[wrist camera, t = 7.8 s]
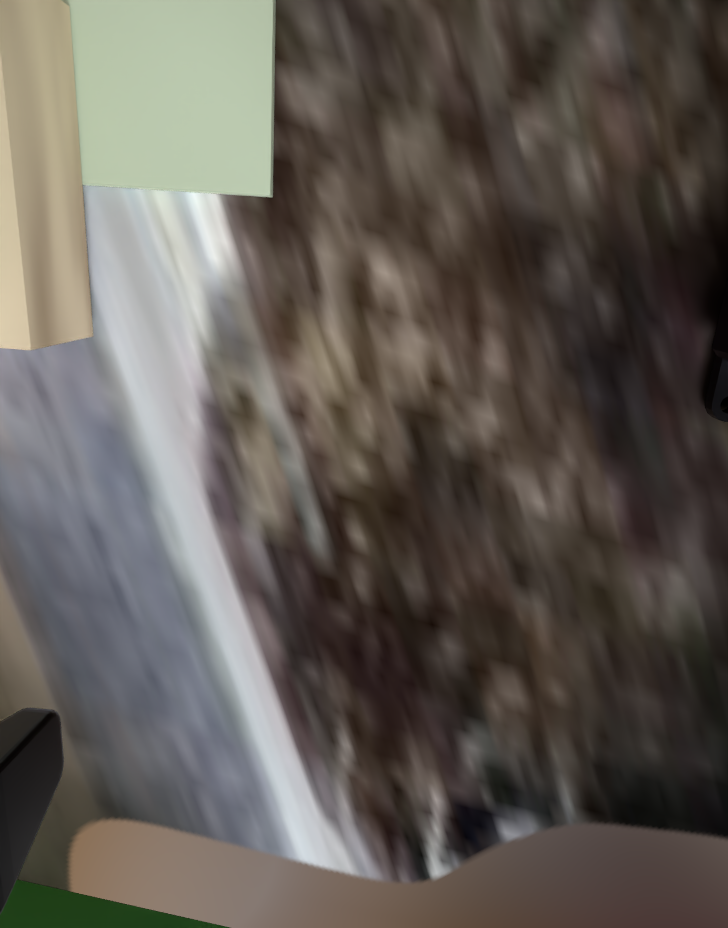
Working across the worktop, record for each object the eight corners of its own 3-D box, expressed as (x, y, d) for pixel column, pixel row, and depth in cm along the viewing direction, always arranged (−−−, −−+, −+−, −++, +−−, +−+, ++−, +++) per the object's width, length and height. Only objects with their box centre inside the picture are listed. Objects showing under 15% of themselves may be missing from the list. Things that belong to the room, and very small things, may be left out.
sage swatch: (276, -71, 15) (274, -79, 15) (272, 197, 17) (270, 195, 17) (30, -86, 15) (21, -95, 15) (52, 183, 17) (45, 181, 17)
